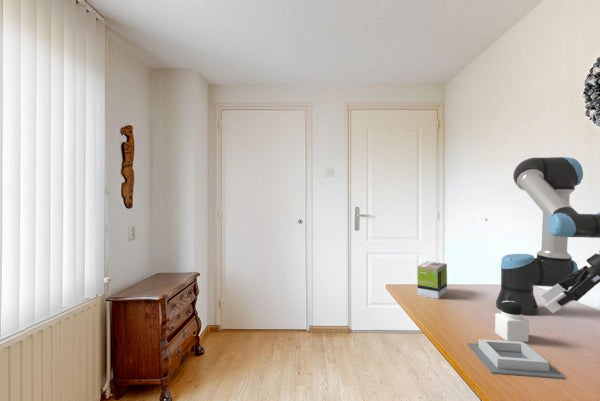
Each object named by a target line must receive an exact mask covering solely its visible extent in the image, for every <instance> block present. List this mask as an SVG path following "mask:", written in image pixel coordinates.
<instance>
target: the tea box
mask: <svg viewBox="0 0 600 401" xmlns="http://www.w3.org/2000/svg"><path fill="white" fill-rule="evenodd" d="M447 268H448V265H447V263H445V262H444V263H442V262H435V261H434V262H433V261H426V262H425V261H424V262H423V263H422V264H419V265H417V296H420V297H426V298H430V299H435V298H436V299H437V300H438V299H440V298H441V297H442V296H444V295H445V294H446V293H447V292H448V271H447Z"/></svg>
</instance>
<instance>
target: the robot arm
mask: <svg viewBox="0 0 600 401" xmlns="http://www.w3.org/2000/svg"><path fill="white" fill-rule="evenodd" d="M583 177H584V170H583V167H582V165H581V163H580V162H579V161H578V160H577V159H575V158H574V157H567V156H565V157H564V156H560V157H559V156H557V157H556V156H555V157H553V156H552V157H551V156H550V157H529V158H527V159H525V160H522V161H521V162H520V163H519V164H518V165H516V167H515V169H514V171H513V181H514V183H515V185H516V186H517V187H518V188H519V189H520V190H522V191H525V192H526V193H527V195H528V196H529V197H530V199H532V200H533V202H534V203H535V204H536V205H537V206H538V208H539V209H540V210H541V211H542V224H541V225H542V226H541V228H542V230H541V249H540V250H539V251H537V252H536V257H534V255H533V254H531V253H530V254H528V253H510V254H505V255H504V256H502V257H501V265H500V291H499V293H498V296H497V298H496V301H495V307H496V308H498V309H499V310H501V303H502V302H503V301H514V302H517V303H519V304H521V305H522V316H524V315H525V316H534V315H537V314H539V306H538V303H537V300H536V298H535V295H534V287H549V289H548V290H546V291H545V292H543V293H541V295H540V296H541V297H542V298H543V299H544V300H545V301H546V302H548V303H547V304H544V307H545V308H546V309H547V310H548V311H549V312H550V313H552V314H554V313H556V312H557V311H559V310H561V309H562V308H564V307H565V306H567V305H568V304H570V303H572V302H574V301H575V302H578V301H579V300H581V298H583V297H584V296H585V295H586V294H588V293H589V291H591V290H592V289H593V288H595V286H596V285H598V284H599V283H600V250H599V251H598V253H594V254H593V255H591V256H590V257H589V258H586V263H588V264H589V265H590V266H588V265H584V266H583V267H582V268H580V269H579V267H578V263H577V262H576V261H575V260H573V259H572V257H573V256H572V255H571V254H570V253H569V252H568V243H569V242H568V240H569V239H568V238H593V239H596V238H597V239H598V238H599V239H600V211H599V212H597V213H596V214H594V213H579V212H577V211H576V210H575V208H573V206H572V205H570V196H571V193H572V192H574V191H575V189H576V188H575V187H576V186H578V185H580V184H581V183H582V180H583Z"/></svg>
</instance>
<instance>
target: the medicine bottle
mask: <svg viewBox="0 0 600 401" xmlns="http://www.w3.org/2000/svg"><path fill="white" fill-rule="evenodd" d="M500 310H501V311H500V313H499V312H498V313H497V312H496V313H495V315H494V316H495V318H494V319H495V320H494V321H495V322H494V333H495V334H496V335H497V334H498V335H497V336H499V337H501V339H502V340H504V339H505V340H504V341H523V342H524V343H527V342H529V333H530V332H529V329H530V327H529V326H530V324H529V320H528V319H526V318H525V317H523V315H522V305H521V304H519V303H517V302H514V301H503V302H502V303H501V309H500Z"/></svg>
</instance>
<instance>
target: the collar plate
mask: <svg viewBox="0 0 600 401" xmlns="http://www.w3.org/2000/svg"><path fill="white" fill-rule="evenodd" d="M466 345H467V346H468V347H469V348H470V350H471V351H472V352H473V353H474V354H475V356H476V357H477V358H478V360H480V361H481V362H482V363H483V365H484V366H485V367H486V369H487V370H488V371H489V372H490V374H493V375H505V376H506V375H508V376H519V377H520V376H521V377H531V378H533V377H534V378H545V379H548V378H549V379H557V378H559V380H566V377H565V376H564V375H563V374H562V373H560V372H559V371H558V370H557V369H555V368H554V367H553V366H551V365H550V363H549V361H548V360H547V359H545V358H544V357H543V356H542V355H540V354H539V353H537V351H535V350H534V349H533V348H532V347H530V346H529V345H528V344H526V342H516V341H506V340H497V339H495V340H494V339H483V338H481V339H480V338H479V339H478V343H470V342H467V343H466Z"/></svg>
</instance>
